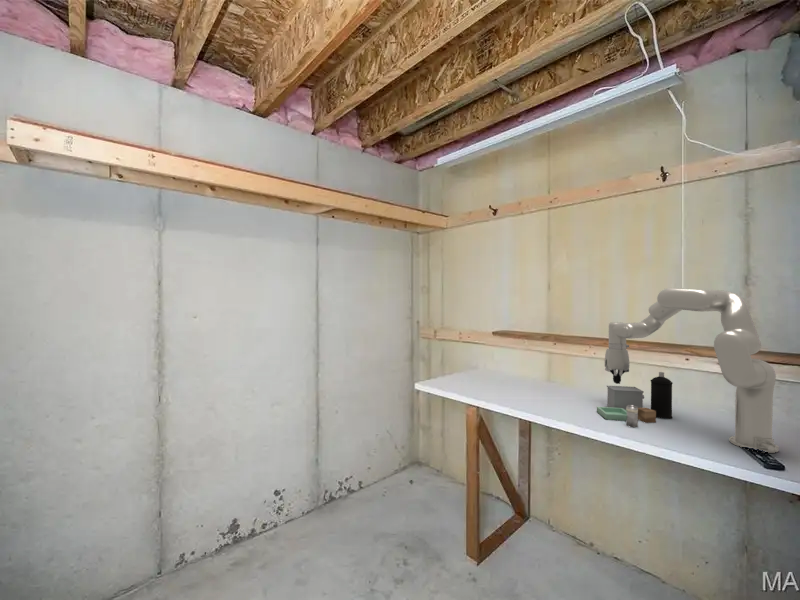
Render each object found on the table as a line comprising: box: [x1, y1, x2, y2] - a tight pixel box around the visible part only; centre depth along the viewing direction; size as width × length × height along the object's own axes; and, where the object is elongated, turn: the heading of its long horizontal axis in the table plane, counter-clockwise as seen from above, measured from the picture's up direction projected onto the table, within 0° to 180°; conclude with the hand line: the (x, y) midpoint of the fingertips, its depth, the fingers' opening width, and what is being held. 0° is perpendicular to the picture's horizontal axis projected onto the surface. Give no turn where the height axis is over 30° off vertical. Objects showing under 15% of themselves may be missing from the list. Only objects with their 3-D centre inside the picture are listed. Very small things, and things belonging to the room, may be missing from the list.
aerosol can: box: [650, 371, 674, 420], centre depth 159 cm, size 8×8×20 cm
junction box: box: [606, 385, 645, 410], centre depth 167 cm, size 9×14×11 cm, turn 80°
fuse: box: [625, 404, 639, 428], centre depth 147 cm, size 4×4×9 cm
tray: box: [596, 406, 626, 422], centre depth 158 cm, size 11×11×2 cm
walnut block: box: [638, 407, 657, 424], centre depth 153 cm, size 5×5×5 cm
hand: (616, 383), depth 175 cm, fingers closed
